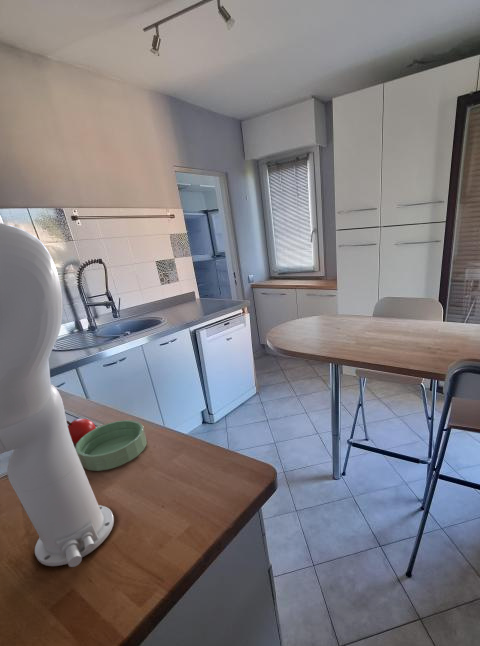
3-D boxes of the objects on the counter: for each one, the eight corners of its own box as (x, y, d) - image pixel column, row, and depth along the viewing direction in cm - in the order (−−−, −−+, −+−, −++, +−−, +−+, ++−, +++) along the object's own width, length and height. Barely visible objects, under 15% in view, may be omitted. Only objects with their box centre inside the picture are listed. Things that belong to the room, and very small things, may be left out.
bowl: (156, 451, 85) (151, 435, 83) (90, 482, 76) (83, 465, 74) (136, 428, 96) (131, 414, 94) (76, 454, 86) (69, 438, 84)
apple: (104, 433, 91) (79, 415, 86) (83, 452, 89) (56, 436, 83) (98, 424, 96) (74, 407, 91) (78, 442, 93) (52, 426, 88)
